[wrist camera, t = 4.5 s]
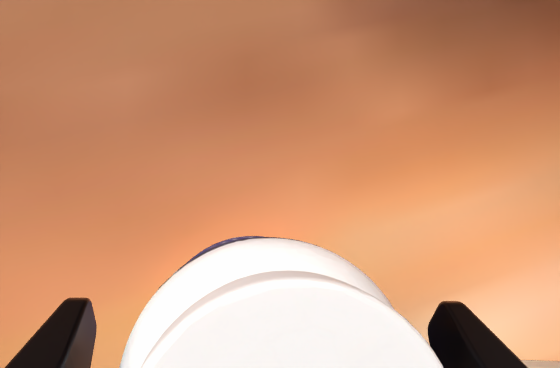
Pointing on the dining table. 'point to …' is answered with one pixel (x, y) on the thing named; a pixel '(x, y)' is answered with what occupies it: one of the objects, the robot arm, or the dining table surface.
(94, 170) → the dining table surface
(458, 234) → the dining table surface
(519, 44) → the dining table surface
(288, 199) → the dining table surface
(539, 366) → the tote
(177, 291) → the pill bottle
